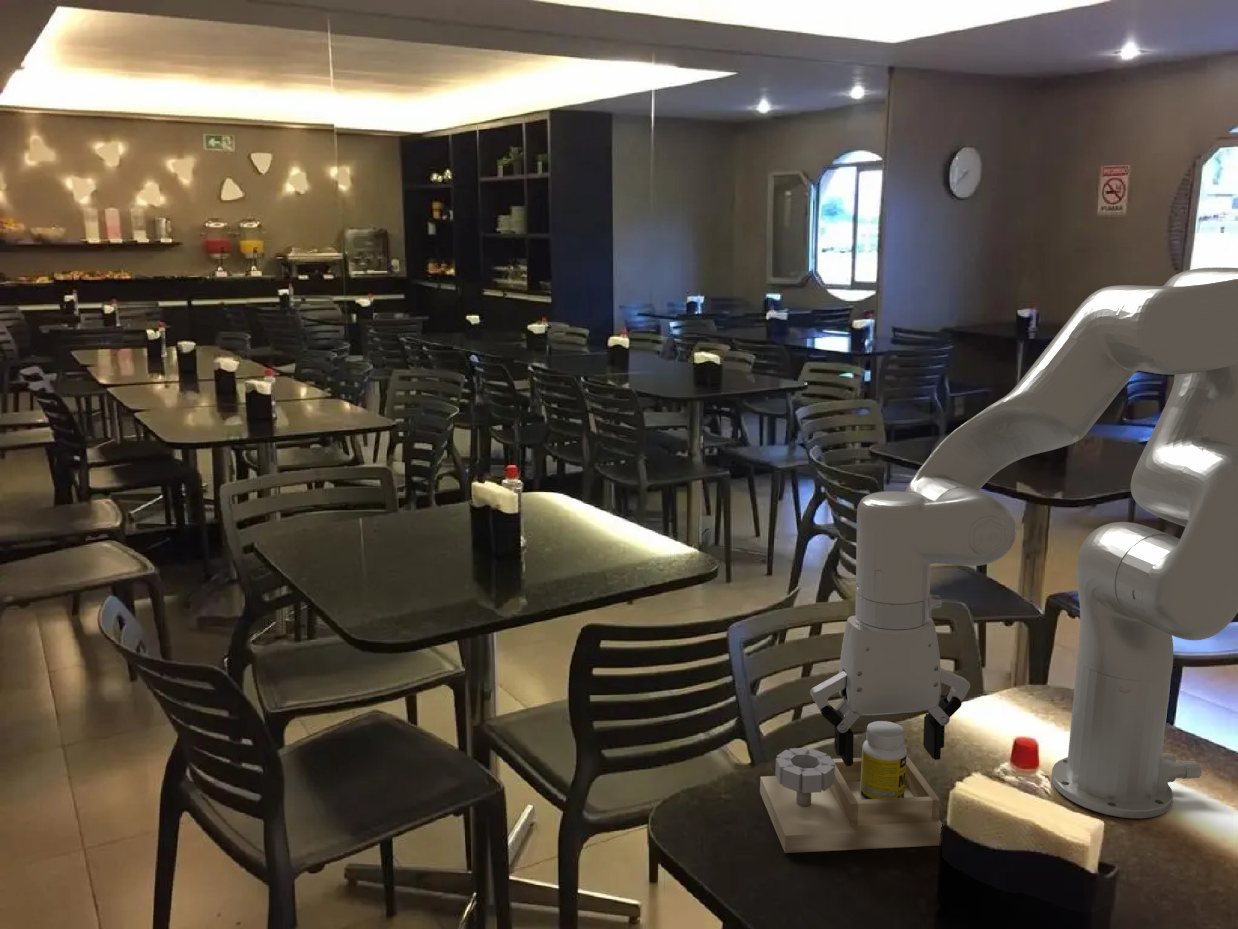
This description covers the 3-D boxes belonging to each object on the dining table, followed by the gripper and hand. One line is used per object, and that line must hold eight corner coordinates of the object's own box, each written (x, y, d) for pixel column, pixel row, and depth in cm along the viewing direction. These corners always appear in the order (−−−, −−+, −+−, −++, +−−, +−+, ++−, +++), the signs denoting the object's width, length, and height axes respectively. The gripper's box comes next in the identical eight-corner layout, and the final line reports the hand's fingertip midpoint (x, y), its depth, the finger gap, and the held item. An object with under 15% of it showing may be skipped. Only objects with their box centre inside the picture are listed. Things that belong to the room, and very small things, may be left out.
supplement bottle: (905, 813, 107) (909, 741, 105) (860, 808, 108) (864, 737, 106) (902, 790, 111) (906, 720, 109) (858, 786, 112) (862, 717, 110)
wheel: (823, 763, 111) (824, 747, 111) (839, 791, 105) (840, 774, 105) (771, 765, 111) (771, 749, 110) (784, 794, 105) (784, 776, 104)
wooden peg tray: (903, 786, 116) (905, 742, 115) (943, 845, 104) (947, 797, 103) (759, 792, 115) (761, 748, 114) (784, 853, 103) (786, 805, 102)
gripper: (956, 592, 109) (951, 735, 113) (802, 602, 108) (802, 746, 111) (986, 616, 102) (980, 768, 105) (821, 627, 101) (820, 780, 104)
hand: (888, 757), depth 108 cm, fingers open, 9 cm apart
